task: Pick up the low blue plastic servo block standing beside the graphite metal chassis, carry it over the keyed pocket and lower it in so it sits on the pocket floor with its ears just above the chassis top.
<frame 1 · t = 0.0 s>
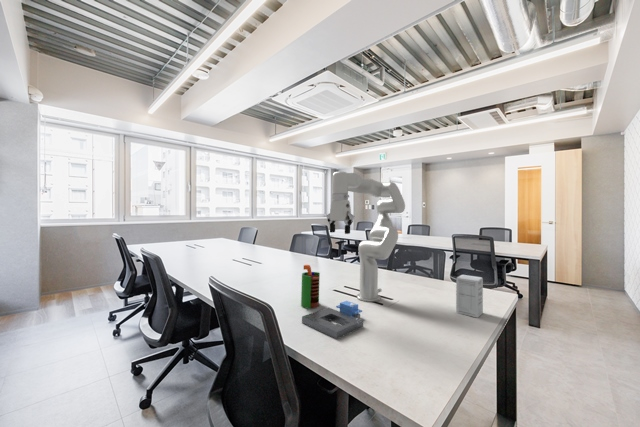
hand: (339, 232, 133), 37 cm above the table, tool pointing down, fingers open, 9 cm apart
servo: (348, 315, 125), on the table
chassis: (332, 324, 115), on the table
supplement box: (469, 313, 130), on the table
motor: (310, 305, 138), on the table
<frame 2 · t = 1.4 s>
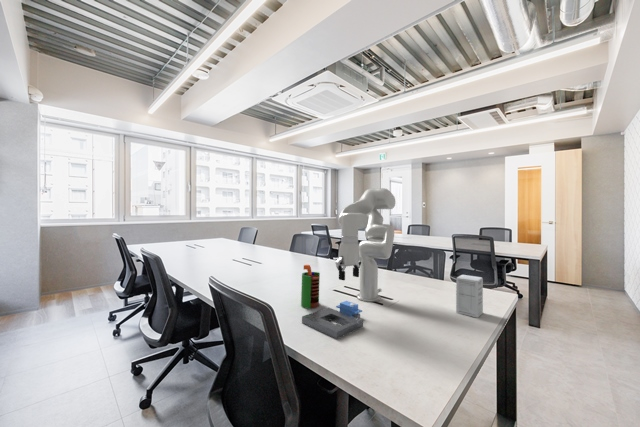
hand: (349, 278, 125), 17 cm above the table, tool pointing down, fingers open, 9 cm apart
nothing on the table moved.
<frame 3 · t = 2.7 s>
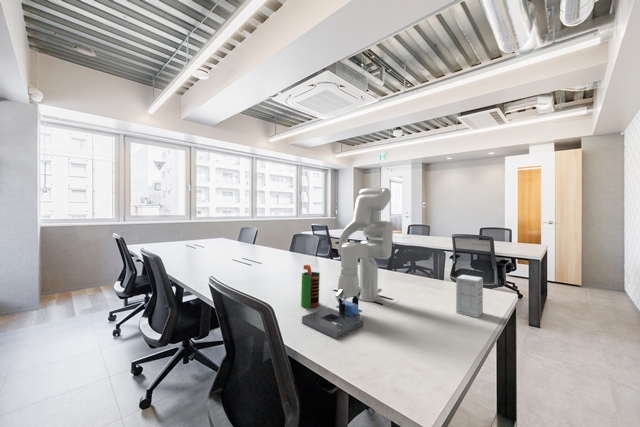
hand: (348, 309, 125), 3 cm above the table, tool pointing down, fingers open, 8 cm apart
nothing on the table moved.
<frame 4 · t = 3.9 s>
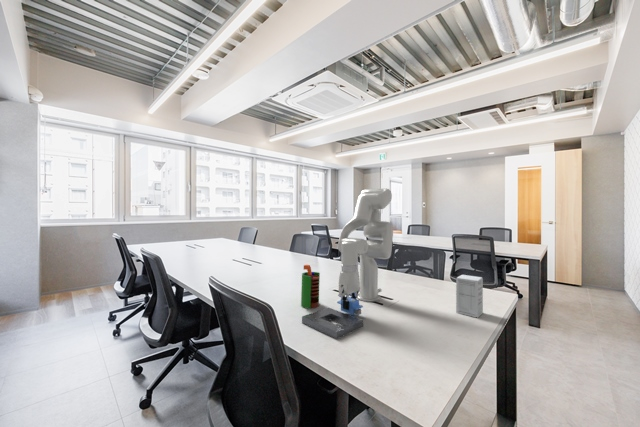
hand: (349, 307, 126), 3 cm above the table, tool pointing down, fingers closed on servo, 4 cm apart
servo: (349, 311, 126), point 2 cm above the table, touching gripper
everything else where it was.
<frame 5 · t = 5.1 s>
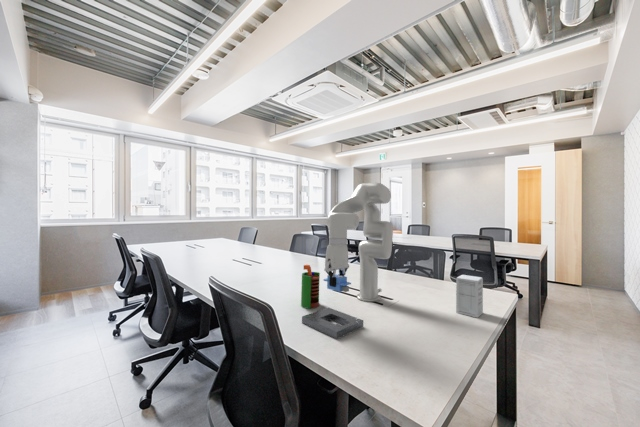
hand: (336, 284, 116), 16 cm above the table, tool pointing down, fingers closed on servo, 4 cm apart
servo: (336, 289, 116), point 14 cm above the table, touching gripper
everything else where it was.
when the fingers open (4 cm above the table, at t = 6.9 s): servo drops 2 cm, resting in chassis.
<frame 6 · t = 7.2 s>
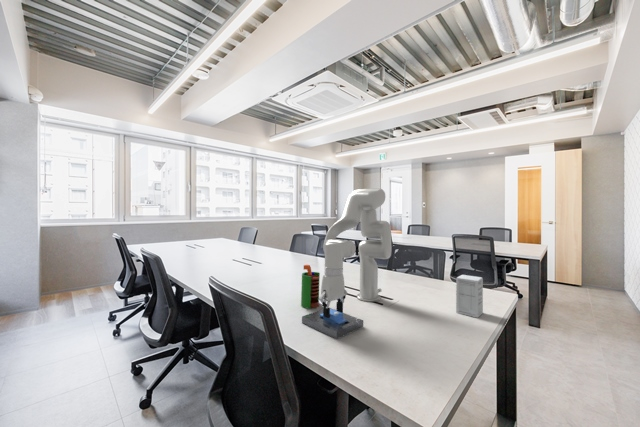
hand: (333, 314, 114), 5 cm above the table, tool pointing down, fingers open, 7 cm apart
servo: (332, 325, 114), resting in chassis
everything else where it was.
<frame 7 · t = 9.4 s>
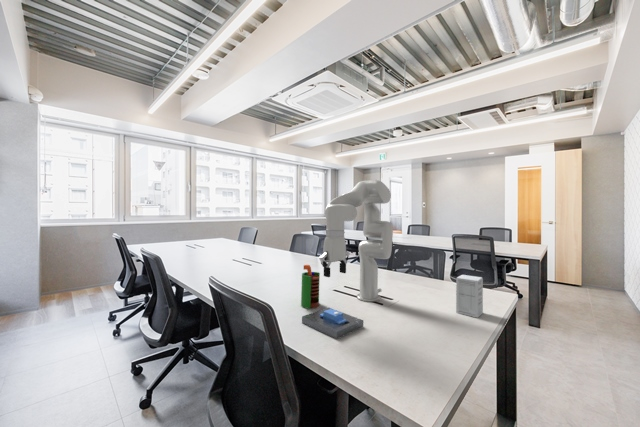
hand: (335, 274, 116), 21 cm above the table, tool pointing down, fingers open, 9 cm apart
nothing on the table moved.
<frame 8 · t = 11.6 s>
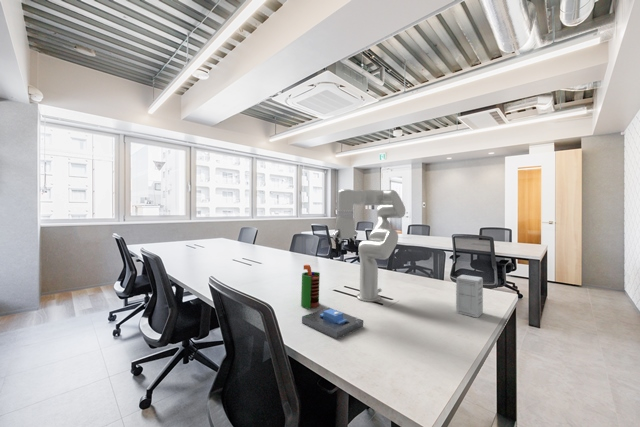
hand: (345, 250, 133), 28 cm above the table, tool pointing down, fingers open, 9 cm apart
nothing on the table moved.
at the end: servo 0.1 cm off-centre on the chassis, point 0.0 cm above the chassis's base; servo tilted 0°; the gripper is holding nothing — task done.
